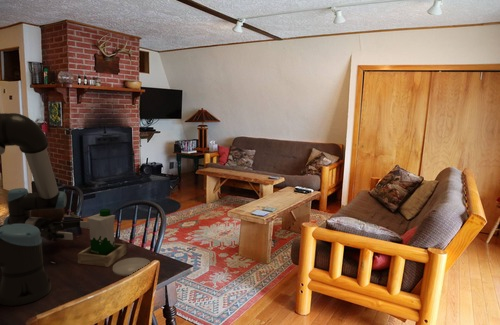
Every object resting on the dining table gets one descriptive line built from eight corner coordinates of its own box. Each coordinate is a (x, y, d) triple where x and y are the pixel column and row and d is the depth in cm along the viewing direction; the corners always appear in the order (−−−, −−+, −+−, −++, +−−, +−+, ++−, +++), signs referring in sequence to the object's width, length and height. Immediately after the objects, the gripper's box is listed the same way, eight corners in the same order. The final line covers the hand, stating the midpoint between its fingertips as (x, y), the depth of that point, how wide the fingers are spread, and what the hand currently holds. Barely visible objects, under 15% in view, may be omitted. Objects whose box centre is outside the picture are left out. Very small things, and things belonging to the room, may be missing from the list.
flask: (63, 233, 175) (61, 212, 173) (67, 231, 177) (66, 210, 176) (79, 235, 172) (78, 214, 171) (83, 233, 175) (82, 212, 174)
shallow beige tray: (108, 266, 140) (107, 257, 139) (78, 263, 143) (77, 253, 142) (126, 253, 153) (126, 244, 152) (99, 250, 155) (98, 241, 155)
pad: (138, 277, 131) (138, 275, 131) (105, 273, 134) (104, 271, 134) (156, 261, 145) (156, 259, 145) (125, 258, 148) (125, 256, 148)
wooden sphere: (69, 227, 184) (67, 198, 181) (36, 234, 174) (33, 204, 171) (60, 220, 195) (58, 193, 192) (28, 226, 184) (26, 198, 182)
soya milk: (119, 256, 150) (117, 210, 146) (101, 264, 142) (98, 216, 138) (104, 252, 154) (102, 207, 150) (86, 259, 146) (83, 212, 142)
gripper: (61, 225, 165) (102, 229, 161) (15, 245, 141) (62, 251, 137) (60, 209, 164) (101, 213, 159) (14, 227, 140) (61, 232, 135)
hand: (83, 230), depth 148 cm, fingers open, 13 cm apart
